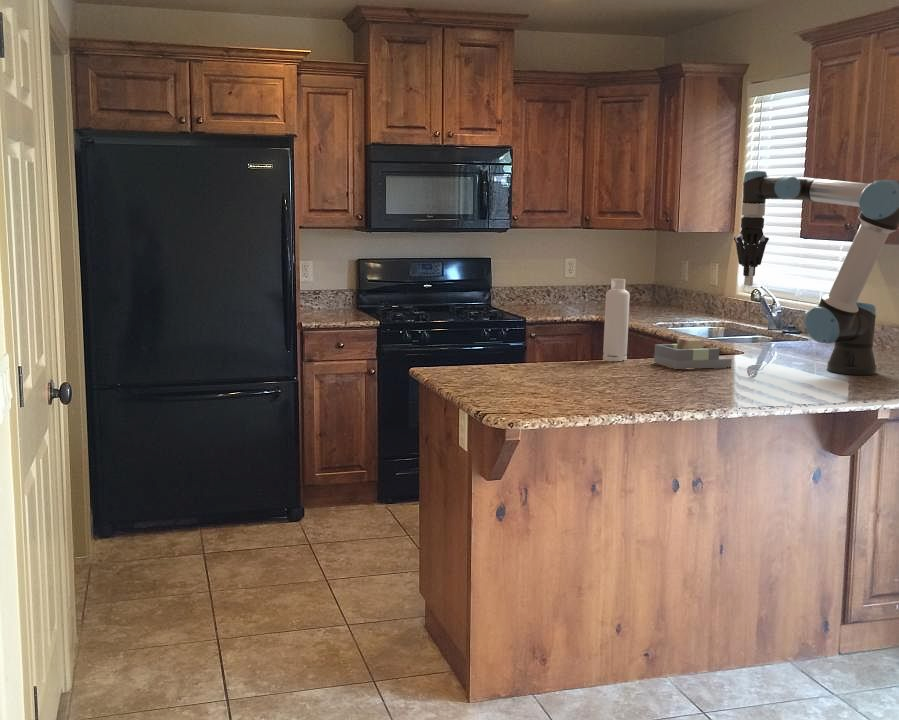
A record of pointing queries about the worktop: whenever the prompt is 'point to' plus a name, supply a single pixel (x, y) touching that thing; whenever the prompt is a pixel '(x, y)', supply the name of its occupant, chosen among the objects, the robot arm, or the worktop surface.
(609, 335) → the bottle
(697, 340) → the block
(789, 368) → the worktop surface
